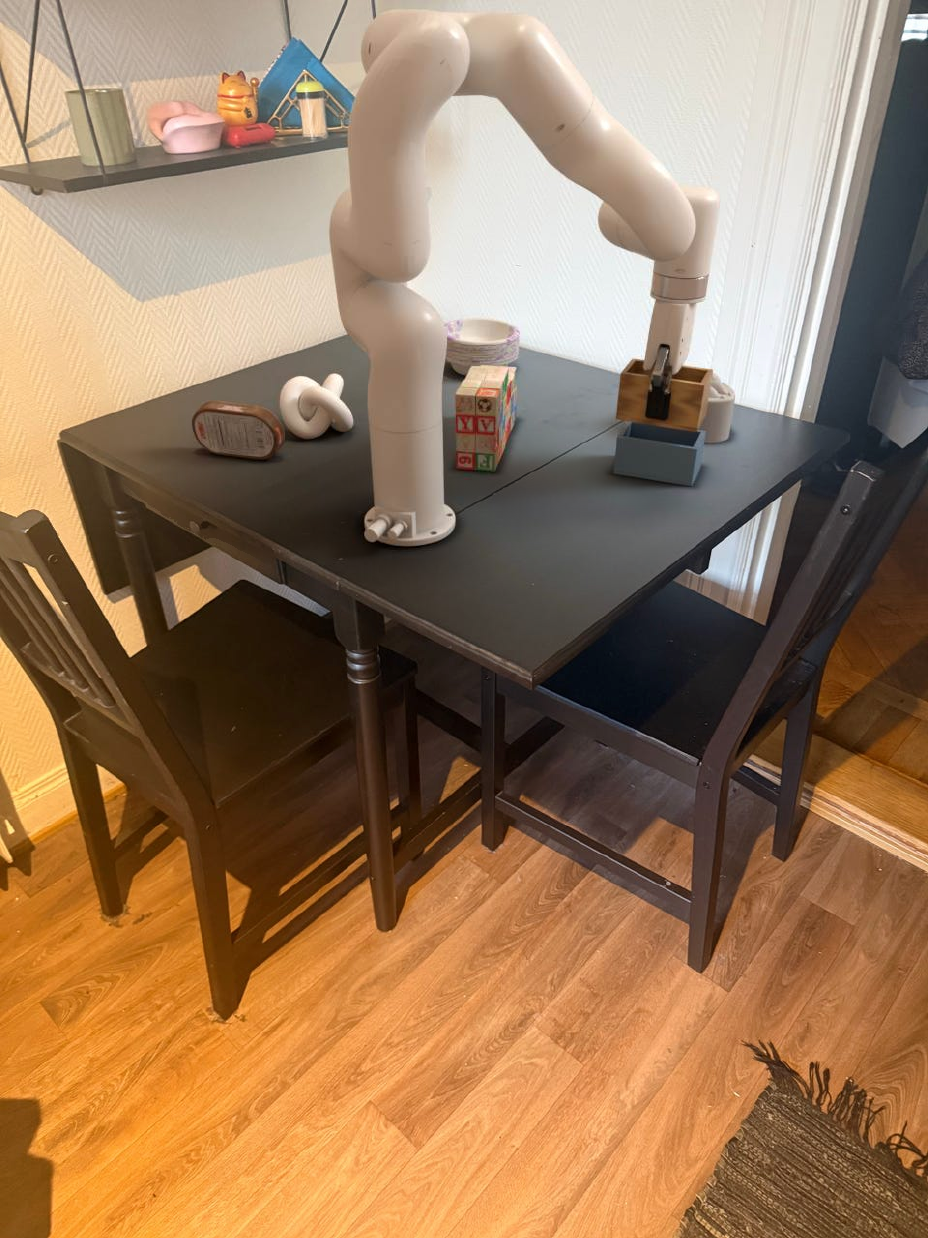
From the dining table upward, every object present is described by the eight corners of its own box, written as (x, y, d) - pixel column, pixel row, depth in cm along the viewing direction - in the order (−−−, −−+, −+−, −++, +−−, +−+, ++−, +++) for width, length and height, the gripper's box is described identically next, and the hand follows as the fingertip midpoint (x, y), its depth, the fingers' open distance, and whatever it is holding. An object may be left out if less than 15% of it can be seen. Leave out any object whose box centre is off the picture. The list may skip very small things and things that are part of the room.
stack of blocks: (481, 416, 161) (481, 346, 154) (516, 419, 160) (518, 348, 153) (455, 469, 143) (454, 392, 136) (495, 472, 142) (496, 395, 135)
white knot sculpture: (298, 414, 162) (292, 364, 157) (365, 418, 160) (361, 367, 155) (278, 440, 153) (271, 388, 148) (348, 444, 151) (344, 392, 146)
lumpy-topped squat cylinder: (680, 410, 163) (686, 361, 158) (743, 431, 155) (752, 381, 150) (642, 425, 157) (647, 376, 152) (705, 449, 149) (713, 397, 144)
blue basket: (700, 467, 144) (706, 430, 140) (691, 486, 138) (697, 449, 135) (624, 455, 147) (628, 419, 144) (613, 473, 142) (616, 436, 138)
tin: (288, 456, 148) (282, 406, 143) (280, 464, 145) (273, 413, 140) (203, 446, 151) (194, 396, 146) (193, 454, 149) (184, 404, 144)
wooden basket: (705, 415, 139) (713, 369, 135) (696, 432, 133) (704, 385, 129) (627, 403, 142) (632, 358, 138) (615, 419, 137) (620, 372, 133)
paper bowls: (528, 379, 176) (529, 337, 171) (450, 386, 173) (449, 344, 168) (506, 353, 188) (507, 314, 183) (433, 359, 185) (432, 319, 180)
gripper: (665, 268, 135) (650, 386, 145) (637, 298, 121) (622, 426, 131) (717, 274, 133) (698, 393, 142) (694, 305, 119) (675, 434, 129)
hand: (662, 408), depth 137 cm, fingers closed on wooden basket, 7 cm apart
